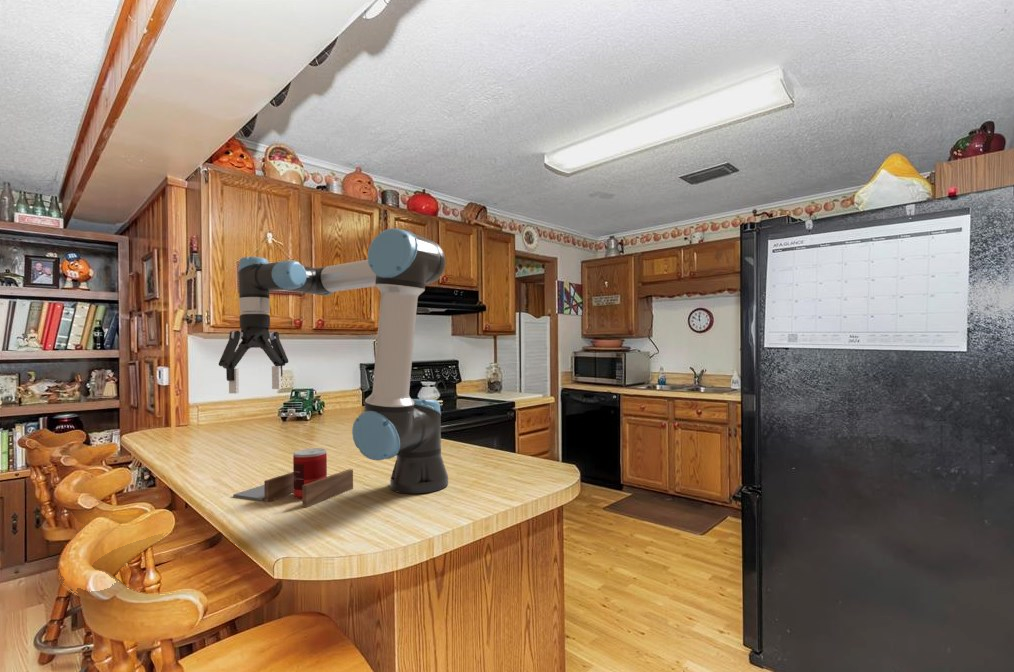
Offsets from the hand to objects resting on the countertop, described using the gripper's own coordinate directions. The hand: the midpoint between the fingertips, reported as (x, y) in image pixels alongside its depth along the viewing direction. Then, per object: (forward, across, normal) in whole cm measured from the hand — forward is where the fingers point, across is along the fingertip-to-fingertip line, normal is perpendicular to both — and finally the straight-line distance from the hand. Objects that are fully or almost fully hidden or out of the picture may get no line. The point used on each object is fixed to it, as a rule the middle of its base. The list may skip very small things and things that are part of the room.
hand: (256, 391), depth 135 cm
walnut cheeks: (+26, +2, +21) cm, 33 cm away
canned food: (+26, +2, +21) cm, 34 cm away
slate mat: (+26, +5, +8) cm, 28 cm away
